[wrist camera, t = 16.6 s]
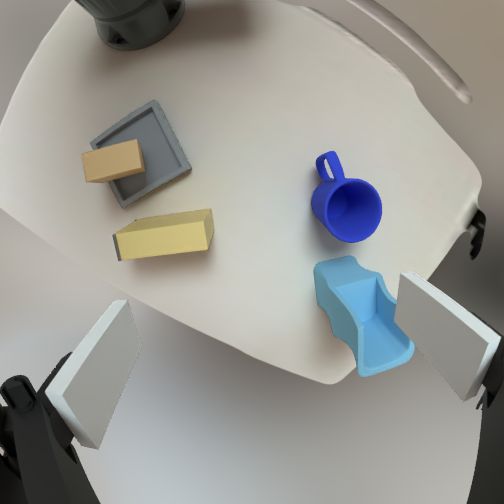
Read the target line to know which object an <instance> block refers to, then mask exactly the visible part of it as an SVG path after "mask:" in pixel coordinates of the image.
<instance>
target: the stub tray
mask: <svg viewBox="0 0 504 504" xmlns="http://www.w3.org/2000/svg"><path fill="white" fill-rule="evenodd" d="M135 139H137V141H138V143H139V145H140V147H141V149H142V153H143V160H144V166H145V171H146V172H143V173H138V174H134V175H130V176H126V177H122V178H119V179H115V180H111V181H108V182H109V184H110V186H111V188H112V190H113V192H114V194H115V196H116V198H117V200H118V202H119V204H120V206H121V208H124V207H126V206H128V205H130V204H132V203H133V202H135V201H136V200H138V199H140V198H141V197H143V196H145V195H146V194H148V193H149V192H151V191H153V190H154V189H156V188H158V187H160V186H161V185H163V184H165V183H166V182H168V181H170V180H172V179H173V178H175V177H177V176H179V175H181V174H182V173H184V172H186V171H188V170H190V169H191V168H192V167H191V165H190V164H189V162H188V160H187V158H186V156H185V154H184V152H183V150H182V148H181V146H180V144H179V142H178V140H177V138H176V136H175V134H174V132H173V130H172V129H171V127H170V125H169V123H168V121H167V119H166V117H165V115H164V113H163V111H162V109H161V107H160V105H159V103H158V102H157V101H155V100H153V101H151V102H149V103H148V104H146V105H144V106H143V107H141V108H139V109H138V110H136V111H135V112H133V113H132V114H130V115H128V116H127V117H125V118H124V119H122V120H121V121H119V122H118V123H116V124H115V125H114V126H112V127H111V128H109V129H108V130H106V131H105V132H104V133H102V134H101V135H100V136H98V137H97V138H95V139H94V140H93V141H91V142H90V144H91V146H92V149H93V150H97V149H100V148H104V147H107V146H111V145H115V144H119V143H123V142H127V141H131V140H135Z"/></svg>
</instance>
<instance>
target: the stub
mask: <svg viewBox="0 0 504 504" xmlns="http://www.w3.org/2000/svg"><path fill="white" fill-rule="evenodd" d="M82 159H83V166H84V172H85V178H86V182H94V183H104V182H107V181H111V180H115V179H119V178H122V177H126V176H130V175H134V174H138V173H143V172H146V171H145V166H144V160H143V153H142V149H141V147H140V145H139V143H138V141H137V139H135V140H131V141H127V142H123V143H119V144H115V145H111V146H107V147H104V148H100V149H97V150H93V151H90V152H87V153H83V154H82Z"/></svg>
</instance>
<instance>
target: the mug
mask: <svg viewBox="0 0 504 504" xmlns="http://www.w3.org/2000/svg"><path fill="white" fill-rule="evenodd" d="M325 158H326V159H327V162H328V164H329V166H330V169H331V171H332V173H333V176H334V179H332V178H330V177H329V175H328V173H327V171H326V168H325V164H324V160H325ZM316 168H317V171H318V173H319V175H320V177H321V179H322V180H323V181H324V182H323V183H321V184H320V185H319V186H318V187H317V188H316V189H315V191H314V193H313V196H312V209H313V211H314V214H315V215H316V217H317V218H318V219H319V220H320V221H321V222H322V223H323V225H324V226H325V227H326V228H327V229H328V230H329V231H330V233H331V234H332V235H333V236H335V237H336V238H337V239H339V240H341V241H344V242H349V243H354V242H359V241H362V240H364V239H366V238H368V237H369V236H370V235H371V234H373V232H374V231H375V230H376V229H377V227H378V225H379V223H380V220H381V216H382V203H381V199H380V197H379V194H378V193H377V191H376V190H375V188H374V187H373V186H372V185H370V184H369V183H367V182H366V181H363V180H360V179H347V178H345V177H344V172H343V169H342V166H341V163H340V161H339V158H338V156H337V154H336V152H335V151H330V152H327V153H324V154H322V155H320V156H319V157H318V158H317V160H316Z"/></svg>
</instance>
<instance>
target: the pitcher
mask: <svg viewBox="0 0 504 504" xmlns="http://www.w3.org/2000/svg"><path fill="white" fill-rule="evenodd" d="M314 279H315V287H316V295H317V303H318V306H320V307H321V308H323V309H324V310H325V311H326V313H327V314H328V317H329V319H330V323H331V328H332V333H333V334H334V336H335V337H337V338H339V339H341V340H343V341H344V342H345V343H346V344H348V346H349V347H350V348H351V349H352V351H353V353H354V356H355V360H356V365H357V370H358V373H359V375H360V376H362V377H367V376H371V375H374V374H377V373H379V372H382V371H385V370H388V369H391V368H394V367H396V366H399V365H401V364H403V363H405V362H407V361H408V360H409V359H410V358H411V357H412V355H413V353H414V348H415V344H414V343H413V342H412V341H411V340H410V339H409V337H408V336H407V335H406V334H405V333H404V332H403V331H402V330H401V329H400V327H399V326H398V325H397V324H396V323H395V322H394V317H395V310H396V304H397V300H396V299H394V298H393V297H392V296H391V294H390V293H389V292H388V290H387V288H386V286H385V283H384V280H383V277H382V275H381V274H380V273H377V272H373V271H370V270H367V269H365V268H363V267H361V266H360V265H359V264H358V262H357V261H356V259H355V258H354V257H353V256H345V257H341V258H337V259H332V260H328V261H324V262H320V263H317V264H316V265H315V267H314Z"/></svg>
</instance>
